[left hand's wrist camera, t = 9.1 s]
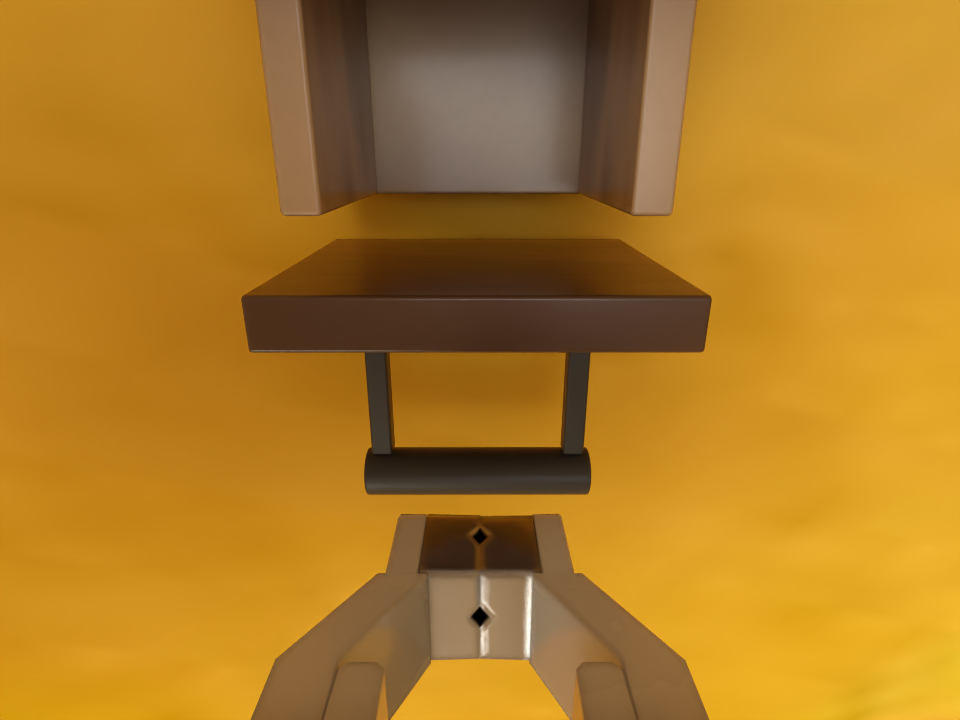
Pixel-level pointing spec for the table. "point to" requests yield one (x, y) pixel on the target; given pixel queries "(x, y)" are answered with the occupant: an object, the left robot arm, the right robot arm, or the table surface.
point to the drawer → (476, 170)
